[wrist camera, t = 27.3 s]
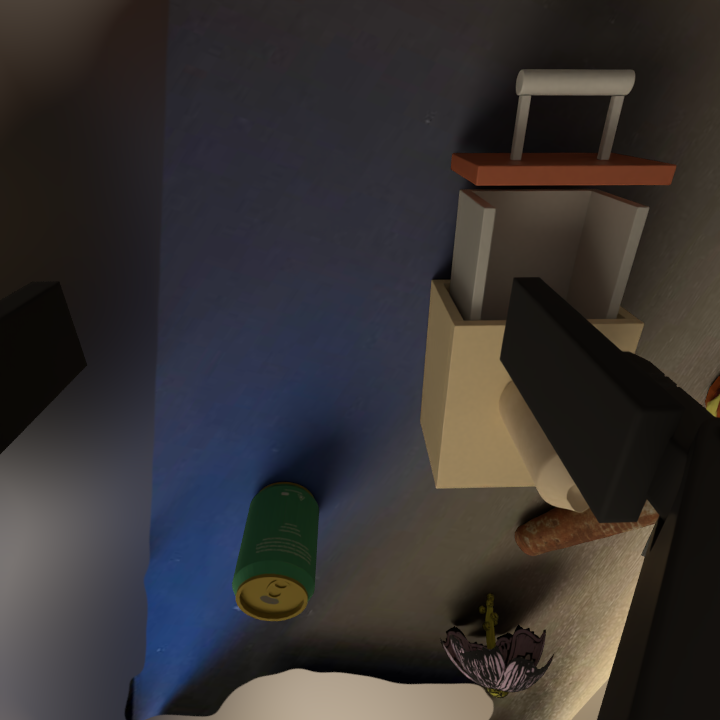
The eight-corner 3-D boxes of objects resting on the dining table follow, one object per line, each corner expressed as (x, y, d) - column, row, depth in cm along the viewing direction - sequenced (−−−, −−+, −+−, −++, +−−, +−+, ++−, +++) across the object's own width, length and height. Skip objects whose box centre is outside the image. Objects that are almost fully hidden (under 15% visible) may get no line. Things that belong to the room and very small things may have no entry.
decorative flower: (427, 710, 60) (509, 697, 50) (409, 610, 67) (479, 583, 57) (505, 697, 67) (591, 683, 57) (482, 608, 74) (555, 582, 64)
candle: (582, 381, 35) (659, 473, 27) (544, 435, 38) (604, 535, 29) (519, 361, 34) (579, 449, 26) (485, 417, 37) (529, 515, 28)
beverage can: (240, 514, 55) (216, 611, 44) (268, 469, 52) (249, 562, 41) (300, 535, 57) (291, 632, 47) (331, 493, 54) (328, 588, 43)
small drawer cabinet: (431, 279, 41) (454, 325, 33) (582, 278, 42) (644, 323, 33) (420, 421, 49) (436, 488, 40) (547, 418, 49) (590, 485, 41)
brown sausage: (669, 483, 55) (701, 520, 50) (519, 542, 59) (535, 582, 54) (657, 448, 52) (690, 484, 47) (501, 513, 56) (516, 552, 51)
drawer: (459, 73, 33) (490, 65, 26) (632, 73, 33) (708, 66, 26) (436, 325, 42) (454, 368, 36) (570, 323, 43) (614, 366, 36)
